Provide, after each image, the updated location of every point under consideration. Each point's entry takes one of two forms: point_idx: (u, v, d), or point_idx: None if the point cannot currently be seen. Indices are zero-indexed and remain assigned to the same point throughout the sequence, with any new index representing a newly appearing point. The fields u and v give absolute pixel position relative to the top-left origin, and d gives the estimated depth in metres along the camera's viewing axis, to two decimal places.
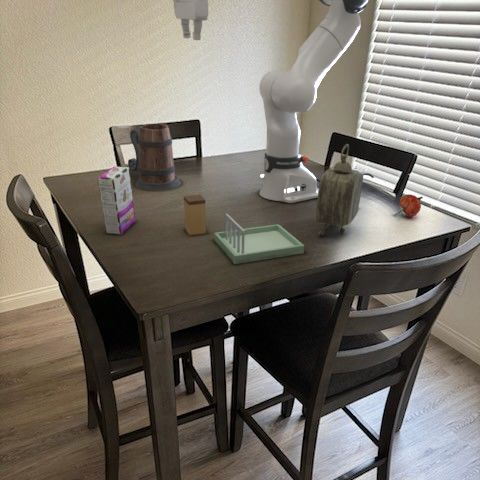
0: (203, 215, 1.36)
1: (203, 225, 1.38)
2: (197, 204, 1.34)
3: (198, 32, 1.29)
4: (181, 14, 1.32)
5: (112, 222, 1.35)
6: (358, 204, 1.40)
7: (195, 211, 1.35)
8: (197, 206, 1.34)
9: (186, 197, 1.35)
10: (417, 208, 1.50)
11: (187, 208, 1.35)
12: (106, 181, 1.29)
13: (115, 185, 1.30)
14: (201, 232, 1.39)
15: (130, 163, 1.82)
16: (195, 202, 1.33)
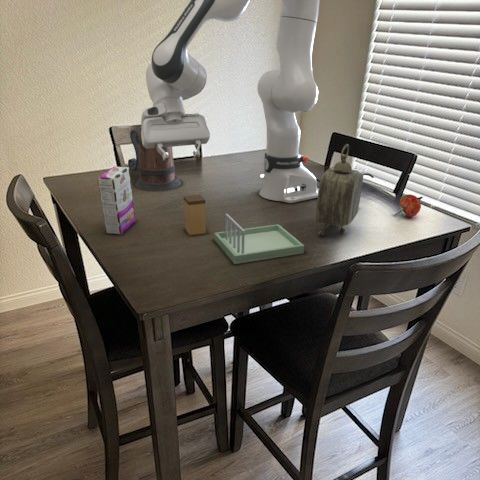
0: (203, 215, 1.36)
1: (203, 225, 1.38)
2: (197, 204, 1.34)
3: None
4: (168, 137, 1.38)
5: (112, 222, 1.35)
6: (358, 204, 1.40)
7: (195, 211, 1.35)
8: (197, 206, 1.34)
9: (186, 197, 1.35)
10: (417, 208, 1.50)
11: (187, 208, 1.35)
12: (106, 181, 1.29)
13: (115, 185, 1.30)
14: (201, 232, 1.39)
15: (130, 163, 1.82)
16: (195, 202, 1.33)
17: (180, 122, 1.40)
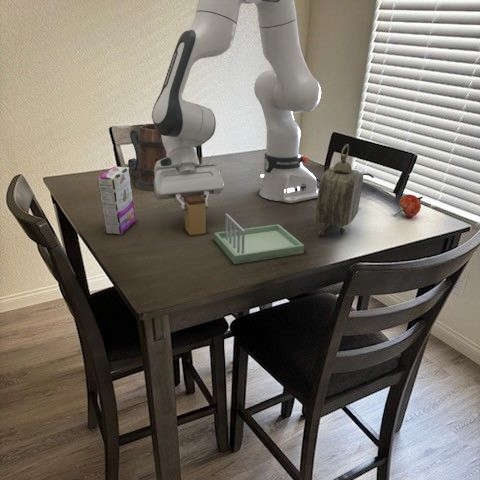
0: (203, 215, 1.36)
1: (203, 225, 1.38)
2: (197, 204, 1.34)
3: None
4: (181, 188, 1.35)
5: (112, 222, 1.35)
6: (358, 204, 1.40)
7: (195, 211, 1.35)
8: (197, 206, 1.34)
9: (186, 197, 1.35)
10: (417, 208, 1.50)
11: (187, 208, 1.35)
12: (106, 181, 1.29)
13: (115, 185, 1.30)
14: (201, 232, 1.39)
15: (130, 163, 1.82)
16: (195, 202, 1.33)
17: (194, 172, 1.37)
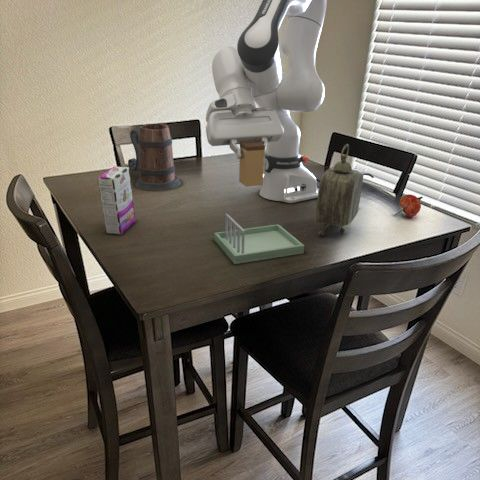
0: (261, 163, 1.22)
1: (261, 176, 1.24)
2: (255, 150, 1.20)
3: None
4: (238, 133, 1.21)
5: (112, 222, 1.35)
6: (358, 204, 1.40)
7: (253, 158, 1.21)
8: (255, 152, 1.20)
9: (243, 143, 1.21)
10: (417, 208, 1.50)
11: (244, 155, 1.21)
12: (106, 181, 1.29)
13: (115, 185, 1.30)
14: (258, 183, 1.25)
15: (130, 163, 1.82)
16: (254, 148, 1.19)
17: (250, 116, 1.23)
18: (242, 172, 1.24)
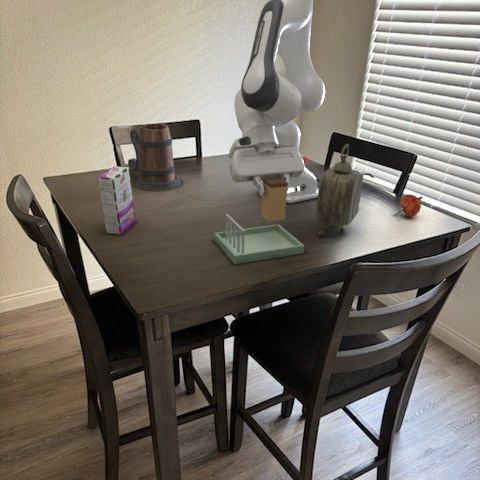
0: (284, 199, 1.25)
1: (283, 211, 1.26)
2: (279, 187, 1.22)
3: None
4: (261, 170, 1.23)
5: (112, 222, 1.35)
6: (358, 204, 1.40)
7: (277, 194, 1.23)
8: (279, 189, 1.23)
9: (266, 179, 1.24)
10: (417, 208, 1.50)
11: (267, 191, 1.23)
12: (106, 181, 1.29)
13: (115, 185, 1.30)
14: (280, 218, 1.27)
15: (130, 163, 1.82)
16: (277, 185, 1.22)
17: (273, 153, 1.26)
18: (265, 207, 1.27)
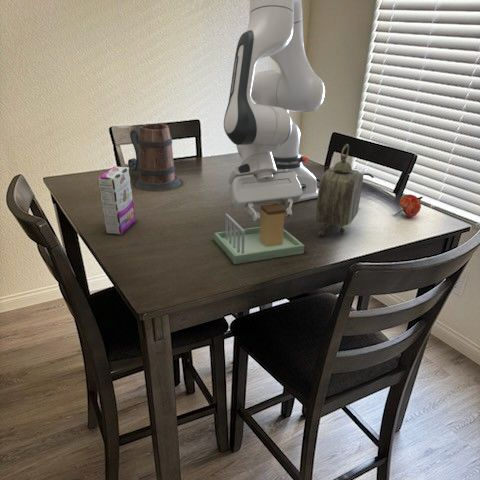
0: (281, 225, 1.29)
1: (281, 236, 1.30)
2: (276, 214, 1.26)
3: None
4: (260, 196, 1.27)
5: (112, 222, 1.35)
6: (358, 204, 1.40)
7: (274, 221, 1.27)
8: (276, 216, 1.27)
9: (264, 206, 1.28)
10: (417, 208, 1.50)
11: (265, 218, 1.27)
12: (106, 181, 1.29)
13: (115, 185, 1.30)
14: (278, 243, 1.31)
15: (130, 163, 1.82)
16: (275, 212, 1.26)
17: (271, 179, 1.30)
18: (263, 233, 1.31)
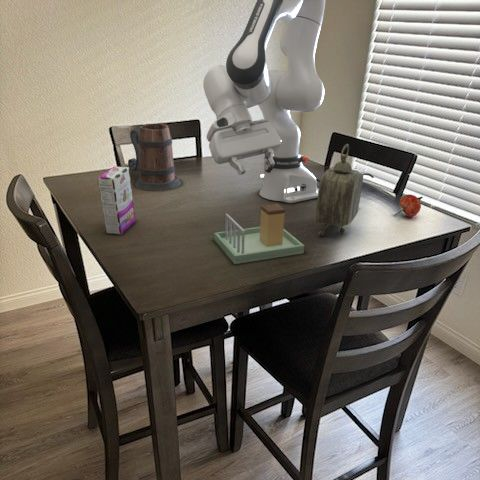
0: (281, 225, 1.29)
1: (281, 236, 1.30)
2: (276, 214, 1.26)
3: None
4: (242, 149, 1.26)
5: (112, 222, 1.35)
6: (358, 204, 1.40)
7: (274, 221, 1.27)
8: (276, 216, 1.27)
9: (264, 206, 1.28)
10: (417, 208, 1.50)
11: (265, 218, 1.27)
12: (106, 181, 1.29)
13: (115, 185, 1.30)
14: (278, 243, 1.31)
15: (130, 163, 1.82)
16: (275, 212, 1.26)
17: (249, 131, 1.29)
18: (263, 233, 1.31)
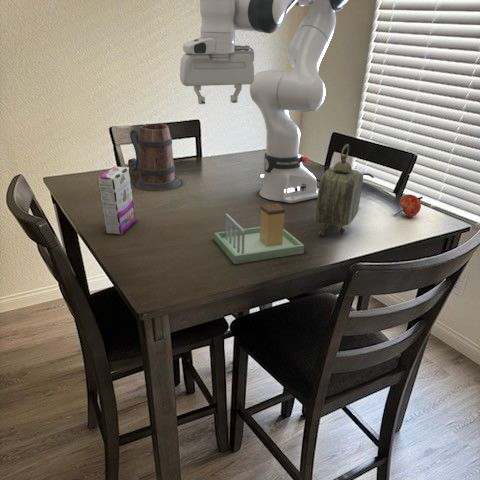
0: (281, 225, 1.29)
1: (281, 236, 1.30)
2: (276, 214, 1.26)
3: None
4: (209, 81, 1.26)
5: (112, 222, 1.35)
6: (358, 204, 1.40)
7: (274, 221, 1.27)
8: (276, 216, 1.27)
9: (264, 206, 1.28)
10: (417, 208, 1.50)
11: (265, 218, 1.27)
12: (106, 181, 1.29)
13: (115, 185, 1.30)
14: (278, 243, 1.31)
15: (130, 163, 1.82)
16: (275, 212, 1.26)
17: (226, 61, 1.25)
18: (263, 233, 1.31)
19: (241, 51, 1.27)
